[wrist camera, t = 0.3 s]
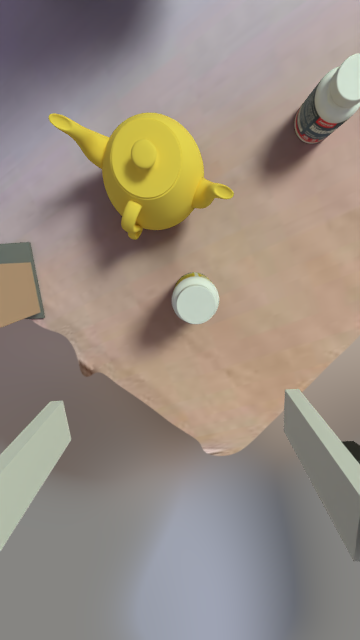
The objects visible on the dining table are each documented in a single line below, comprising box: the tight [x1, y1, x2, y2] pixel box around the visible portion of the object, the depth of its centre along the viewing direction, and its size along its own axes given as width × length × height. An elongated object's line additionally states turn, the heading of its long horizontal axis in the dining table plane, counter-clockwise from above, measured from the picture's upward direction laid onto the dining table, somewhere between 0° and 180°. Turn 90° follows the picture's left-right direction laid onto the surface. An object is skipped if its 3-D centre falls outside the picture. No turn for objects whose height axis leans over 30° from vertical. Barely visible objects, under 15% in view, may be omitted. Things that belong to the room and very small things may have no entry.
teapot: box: [49, 113, 234, 240], centre depth 31 cm, size 20×15×12 cm
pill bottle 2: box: [295, 53, 360, 144], centre depth 29 cm, size 5×5×9 cm
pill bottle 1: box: [172, 273, 219, 324], centre depth 35 cm, size 6×6×11 cm
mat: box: [0, 242, 45, 319], centre depth 41 cm, size 12×12×1 cm
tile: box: [0, 262, 40, 328], centre depth 36 cm, size 8×2×9 cm, turn 3°
